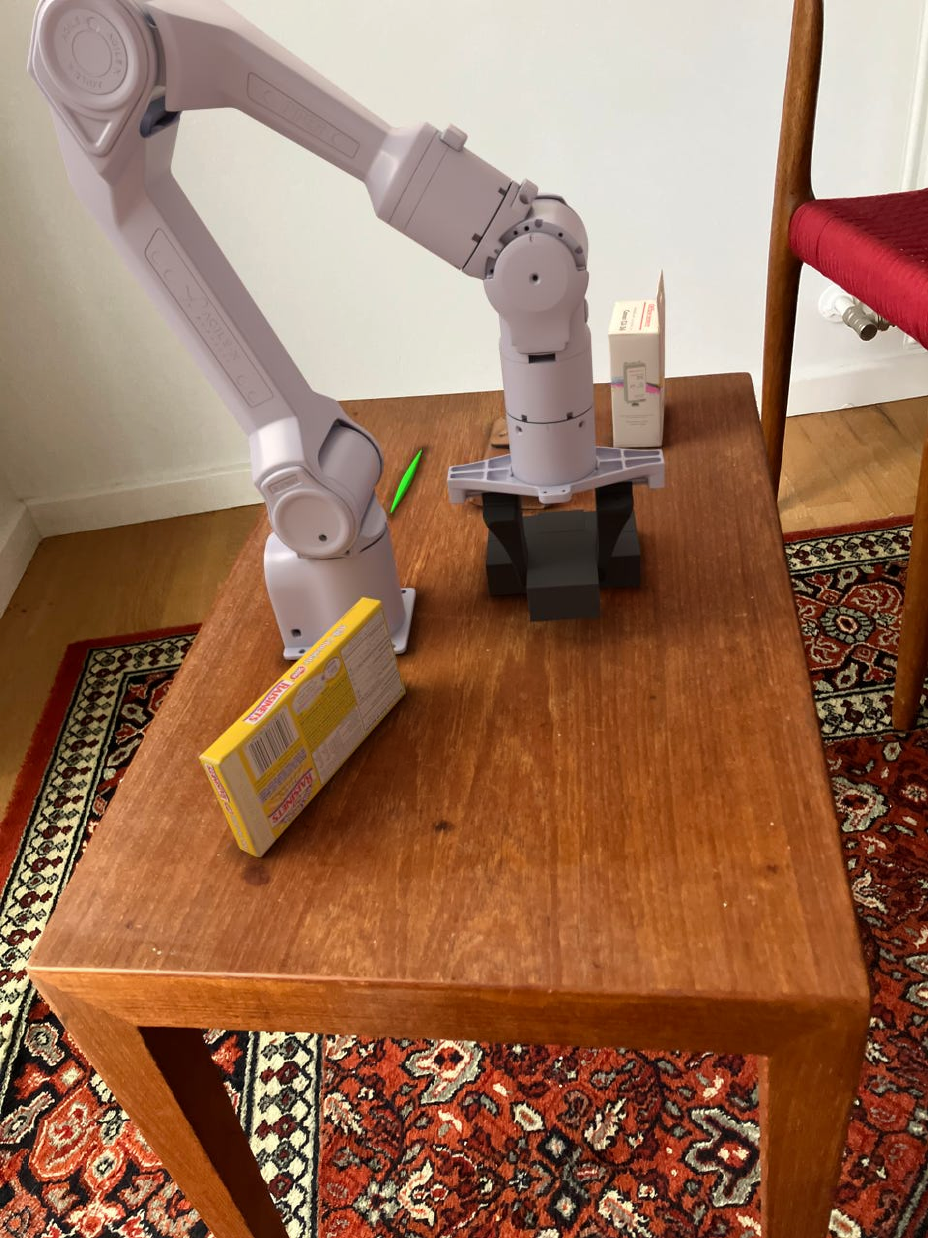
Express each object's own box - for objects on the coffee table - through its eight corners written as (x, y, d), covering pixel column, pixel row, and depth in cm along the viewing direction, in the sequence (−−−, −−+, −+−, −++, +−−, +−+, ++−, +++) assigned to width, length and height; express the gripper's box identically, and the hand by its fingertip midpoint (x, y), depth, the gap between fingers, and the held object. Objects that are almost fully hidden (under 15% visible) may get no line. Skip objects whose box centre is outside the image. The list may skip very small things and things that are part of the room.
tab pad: (530, 622, 67) (526, 588, 66) (531, 545, 75) (528, 513, 74) (600, 617, 67) (598, 583, 65) (594, 540, 75) (592, 508, 73)
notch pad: (489, 595, 76) (485, 565, 74) (493, 547, 81) (489, 517, 79) (641, 586, 74) (640, 554, 72) (634, 538, 80) (633, 507, 78)
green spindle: (384, 521, 87) (383, 514, 87) (419, 449, 98) (418, 442, 98) (393, 522, 87) (392, 514, 87) (427, 449, 98) (427, 442, 97)
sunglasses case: (489, 417, 100) (516, 364, 96) (548, 446, 101) (578, 394, 97) (465, 506, 86) (496, 448, 82) (534, 538, 87) (568, 482, 83)
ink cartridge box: (617, 410, 99) (613, 268, 90) (665, 409, 98) (666, 265, 89) (610, 449, 92) (605, 300, 84) (662, 448, 91) (662, 297, 82)
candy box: (383, 686, 68) (362, 593, 63) (408, 693, 67) (387, 600, 62) (235, 848, 58) (195, 753, 53) (261, 861, 57) (222, 765, 52)
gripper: (433, 442, 59) (460, 615, 67) (670, 421, 57) (669, 602, 65) (442, 394, 64) (467, 559, 72) (658, 374, 62) (659, 546, 71)
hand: (562, 576), depth 69 cm, fingers closed on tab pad, 5 cm apart
